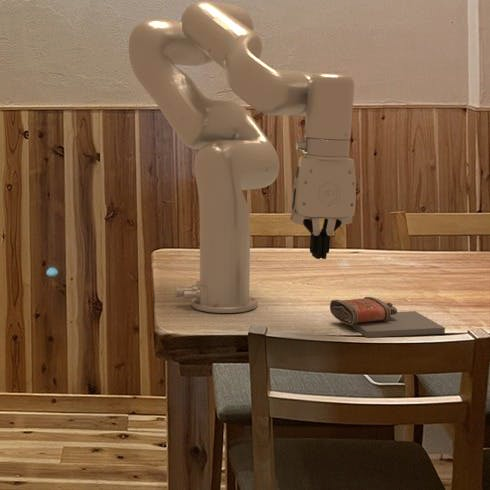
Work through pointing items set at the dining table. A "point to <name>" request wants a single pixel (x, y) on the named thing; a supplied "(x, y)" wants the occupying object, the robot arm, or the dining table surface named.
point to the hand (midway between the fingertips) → (318, 257)
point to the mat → (400, 326)
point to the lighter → (362, 310)
